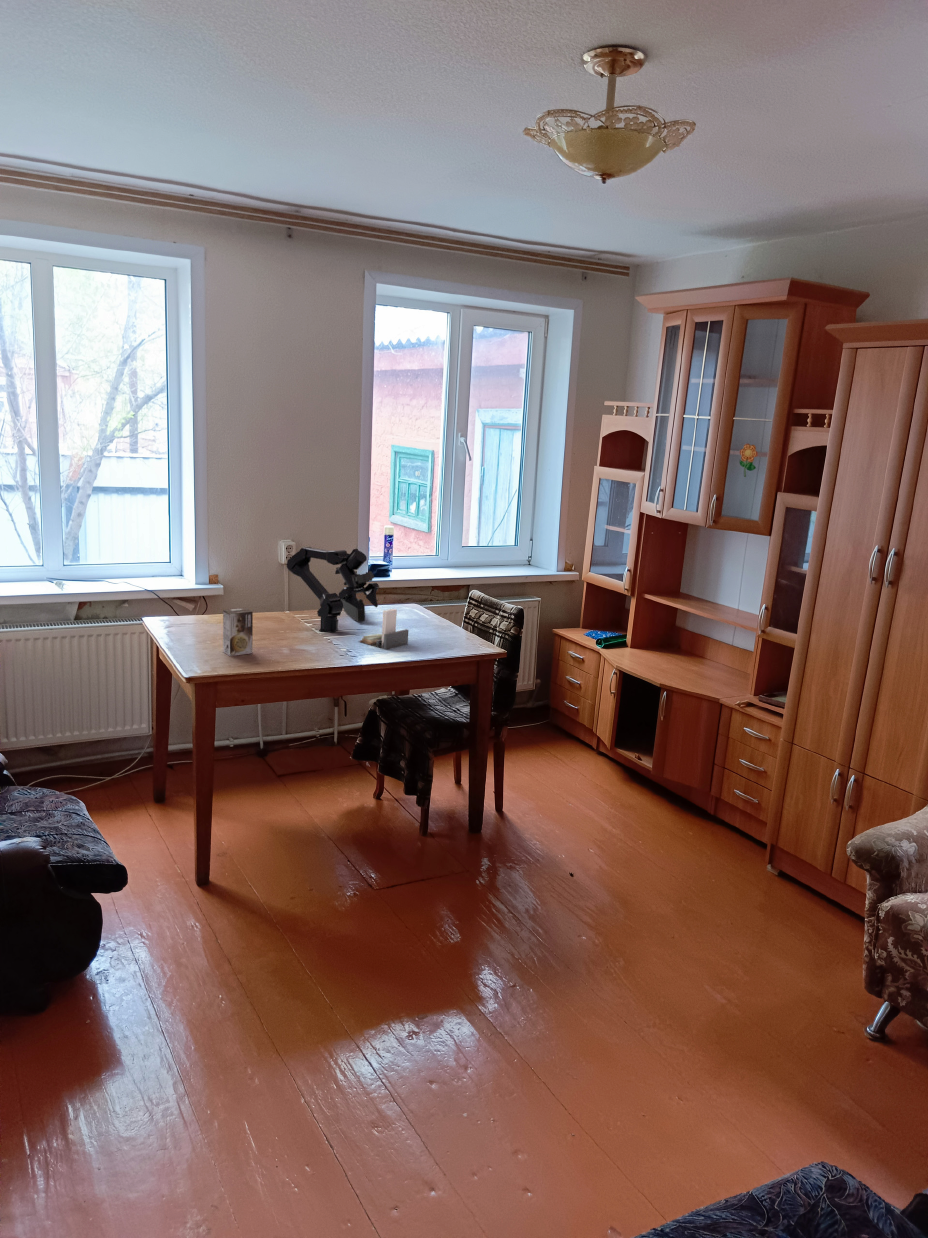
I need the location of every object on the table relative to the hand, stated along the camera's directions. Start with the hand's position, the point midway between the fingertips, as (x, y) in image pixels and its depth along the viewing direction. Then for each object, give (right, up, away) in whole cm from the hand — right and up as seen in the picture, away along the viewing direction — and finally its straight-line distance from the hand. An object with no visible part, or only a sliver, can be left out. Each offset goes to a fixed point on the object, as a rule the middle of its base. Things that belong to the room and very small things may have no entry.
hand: (369, 608), depth 349 cm
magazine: (-13, -3, +44) cm, 46 cm away
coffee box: (-46, -17, -26) cm, 55 cm away
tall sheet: (+8, -14, -4) cm, 17 cm away
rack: (+5, -15, -2) cm, 16 cm away
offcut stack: (+2, -13, +1) cm, 13 cm away
